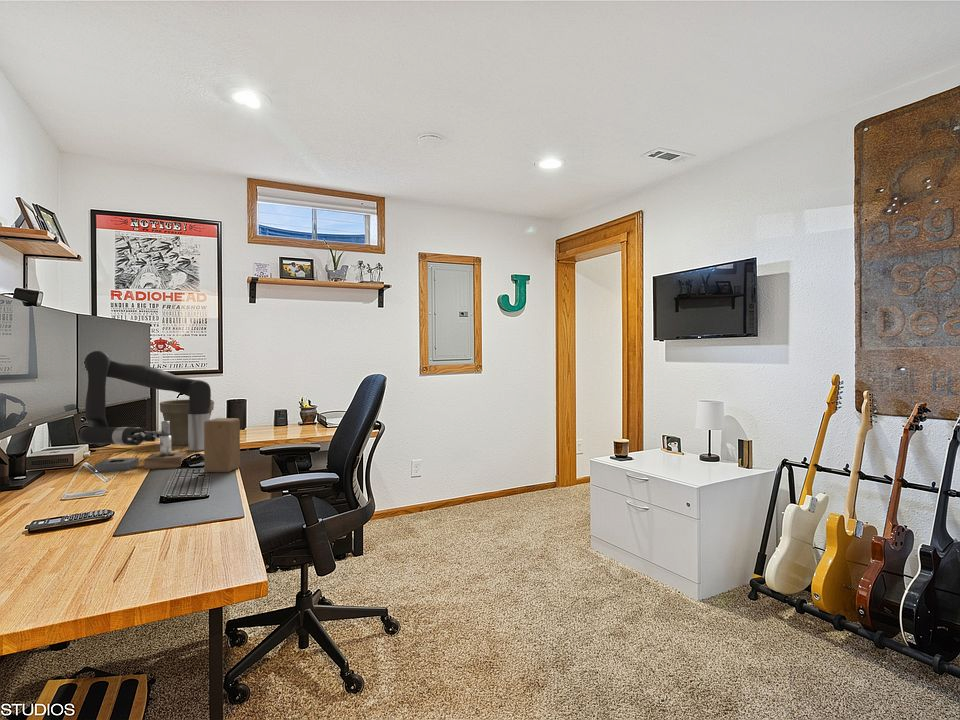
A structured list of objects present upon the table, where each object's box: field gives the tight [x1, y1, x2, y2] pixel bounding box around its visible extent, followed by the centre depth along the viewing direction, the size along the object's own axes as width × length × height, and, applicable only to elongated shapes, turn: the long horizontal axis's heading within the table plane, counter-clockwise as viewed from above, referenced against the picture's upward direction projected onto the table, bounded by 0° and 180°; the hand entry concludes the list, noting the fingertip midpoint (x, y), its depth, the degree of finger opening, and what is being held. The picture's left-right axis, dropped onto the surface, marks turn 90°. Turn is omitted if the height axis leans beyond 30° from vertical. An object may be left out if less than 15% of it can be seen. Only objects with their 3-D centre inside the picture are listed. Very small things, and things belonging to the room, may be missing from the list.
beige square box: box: [143, 451, 188, 470], centre depth 223 cm, size 13×13×4 cm
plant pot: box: [159, 398, 215, 446], centre depth 280 cm, size 25×25×22 cm
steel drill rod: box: [159, 420, 173, 457], centre depth 223 cm, size 4×4×18 cm
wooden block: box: [203, 417, 241, 473], centre depth 213 cm, size 10×10×20 cm
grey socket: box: [94, 457, 140, 473], centre depth 216 cm, size 12×12×3 cm
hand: (162, 437), depth 223 cm, fingers open, 8 cm apart
